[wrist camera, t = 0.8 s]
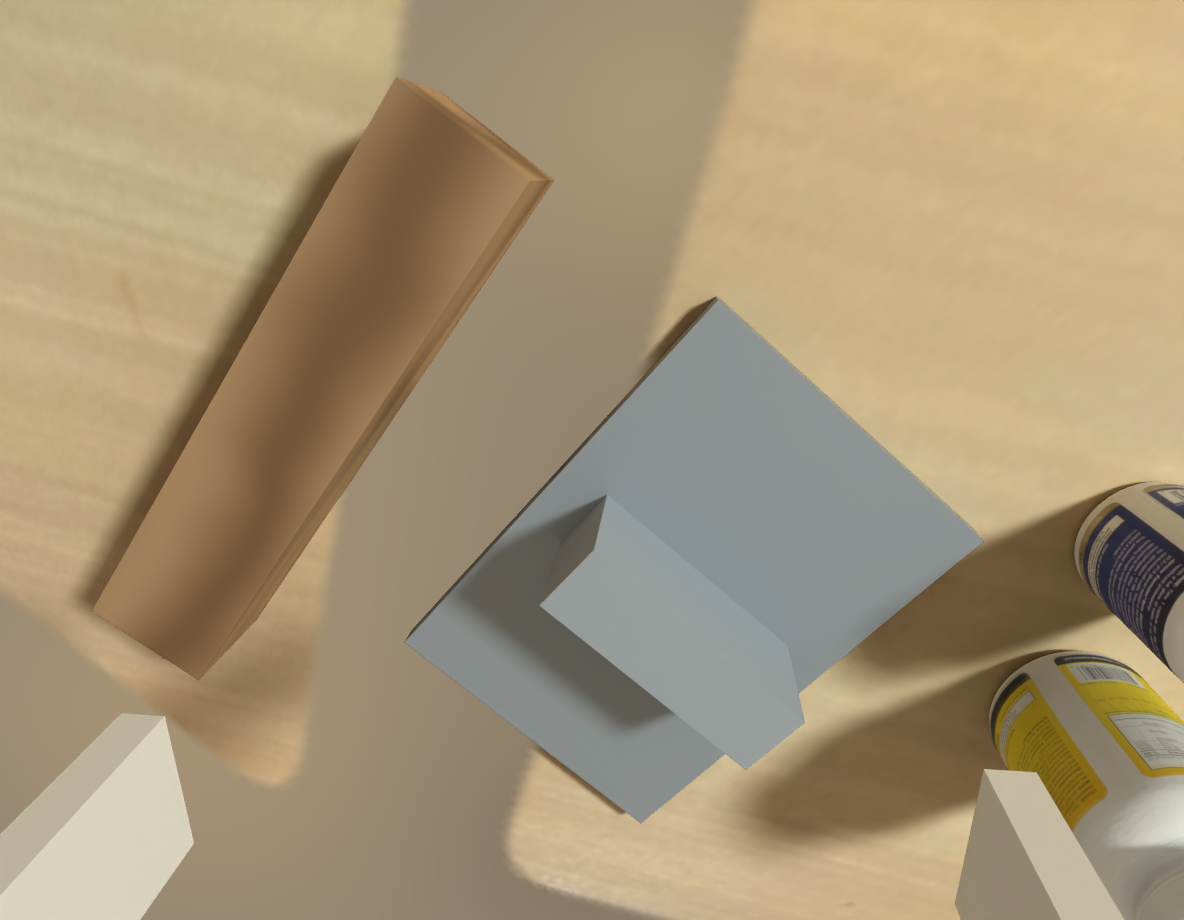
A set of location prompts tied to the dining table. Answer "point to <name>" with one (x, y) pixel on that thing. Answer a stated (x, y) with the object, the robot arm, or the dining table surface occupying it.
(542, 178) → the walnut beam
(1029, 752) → the pill bottle
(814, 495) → the fulcrum
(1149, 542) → the pill bottle
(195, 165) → the dining table surface
